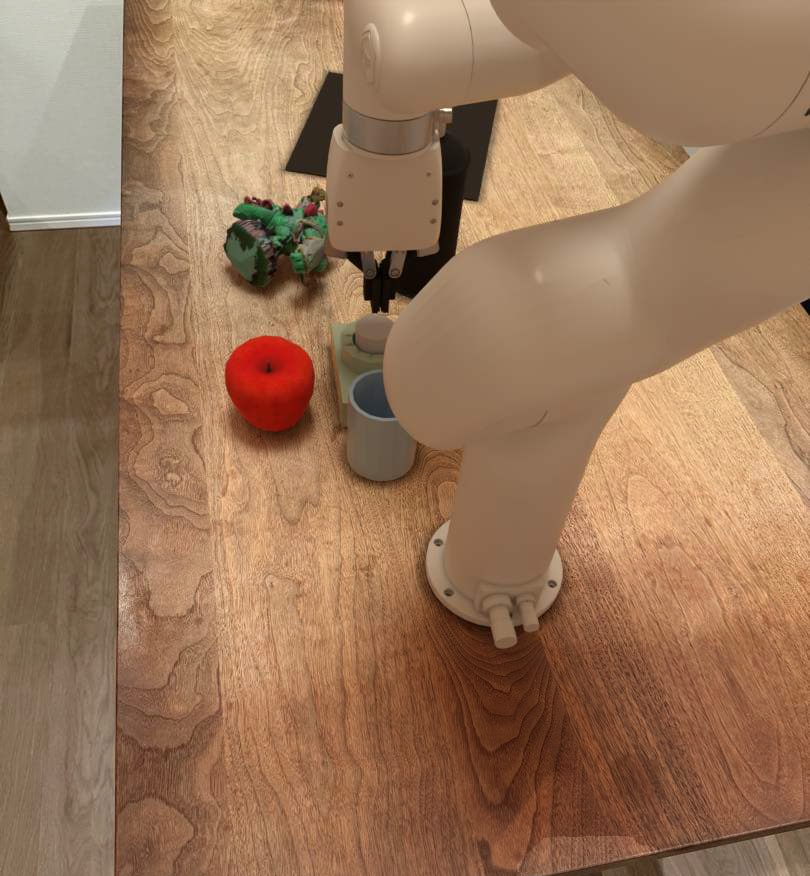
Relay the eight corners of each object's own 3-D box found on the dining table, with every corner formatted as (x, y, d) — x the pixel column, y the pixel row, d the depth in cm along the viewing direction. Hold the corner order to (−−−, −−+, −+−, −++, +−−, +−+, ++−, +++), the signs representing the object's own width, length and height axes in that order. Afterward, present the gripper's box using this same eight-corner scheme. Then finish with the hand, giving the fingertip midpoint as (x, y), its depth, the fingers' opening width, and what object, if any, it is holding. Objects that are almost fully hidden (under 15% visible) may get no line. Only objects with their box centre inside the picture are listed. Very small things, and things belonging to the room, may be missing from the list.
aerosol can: (447, 305, 103) (470, 142, 87) (379, 292, 103) (389, 128, 87) (459, 264, 108) (482, 102, 92) (394, 251, 108) (406, 89, 92)
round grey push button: (396, 354, 90) (397, 338, 88) (357, 356, 89) (357, 340, 87) (390, 328, 92) (391, 313, 90) (352, 330, 91) (353, 314, 90)
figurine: (298, 295, 94) (392, 236, 101) (230, 189, 91) (331, 136, 98) (256, 328, 105) (344, 273, 112) (193, 235, 102) (288, 184, 109)
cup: (418, 479, 87) (426, 419, 80) (350, 483, 86) (352, 422, 79) (409, 429, 91) (416, 368, 84) (343, 432, 90) (345, 370, 83)
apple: (220, 395, 91) (212, 336, 85) (301, 379, 94) (299, 321, 87) (241, 456, 87) (235, 399, 80) (326, 437, 89) (326, 381, 83)
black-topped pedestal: (478, 201, 116) (493, 101, 106) (284, 170, 117) (281, 67, 106) (497, 99, 133) (513, 4, 122) (328, 72, 134) (329, -25, 123)
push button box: (418, 423, 91) (423, 384, 87) (341, 427, 90) (342, 388, 86) (401, 346, 98) (405, 306, 94) (330, 348, 97) (331, 309, 93)
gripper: (468, 98, 75) (446, 278, 89) (293, 98, 73) (299, 283, 87) (486, 143, 70) (459, 326, 85) (300, 145, 68) (305, 332, 83)
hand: (378, 304), depth 86 cm, fingers closed
